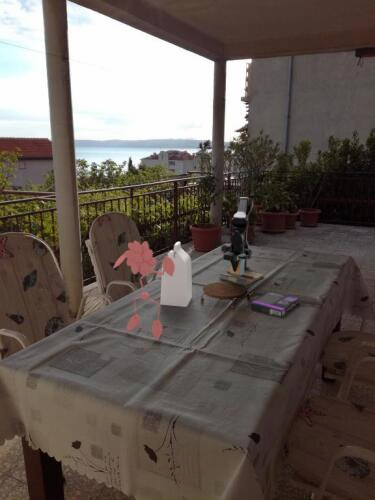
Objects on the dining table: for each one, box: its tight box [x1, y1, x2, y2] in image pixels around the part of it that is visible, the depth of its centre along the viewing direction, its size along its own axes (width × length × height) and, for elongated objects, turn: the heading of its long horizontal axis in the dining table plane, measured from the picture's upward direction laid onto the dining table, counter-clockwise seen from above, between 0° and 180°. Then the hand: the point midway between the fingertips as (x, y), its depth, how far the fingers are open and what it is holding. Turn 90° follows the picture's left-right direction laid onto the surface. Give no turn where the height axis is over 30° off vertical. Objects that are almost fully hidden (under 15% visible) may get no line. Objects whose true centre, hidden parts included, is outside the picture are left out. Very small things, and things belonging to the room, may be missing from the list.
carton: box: [229, 258, 245, 276], centre depth 202 cm, size 4×6×8 cm, turn 51°
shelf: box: [219, 269, 265, 286], centre depth 207 cm, size 18×16×3 cm
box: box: [250, 290, 300, 317], centre depth 170 cm, size 14×4×20 cm
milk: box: [159, 241, 193, 308], centre depth 171 cm, size 12×12×26 cm
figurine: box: [113, 240, 175, 350], centre depth 133 cm, size 15×26×35 cm, turn 60°
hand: (236, 270), depth 202 cm, fingers closed on carton, 4 cm apart
